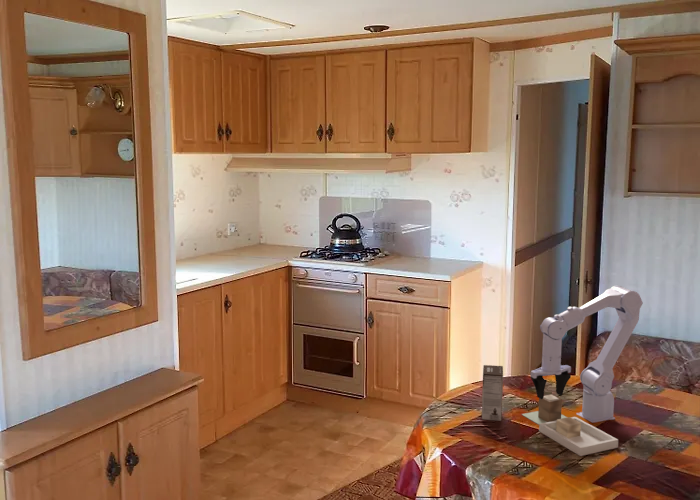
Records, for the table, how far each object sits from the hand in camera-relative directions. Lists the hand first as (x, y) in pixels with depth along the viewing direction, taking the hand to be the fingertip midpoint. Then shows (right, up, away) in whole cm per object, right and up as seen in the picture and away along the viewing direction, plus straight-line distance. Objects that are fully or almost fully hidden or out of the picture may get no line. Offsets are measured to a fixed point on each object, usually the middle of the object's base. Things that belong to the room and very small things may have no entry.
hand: (549, 396), depth 211 cm
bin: (+4, -10, -14) cm, 18 cm away
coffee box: (-18, -8, +5) cm, 20 cm away
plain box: (+3, -9, -10) cm, 14 cm away
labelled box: (0, -7, +1) cm, 7 cm away
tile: (0, -8, +1) cm, 8 cm away
